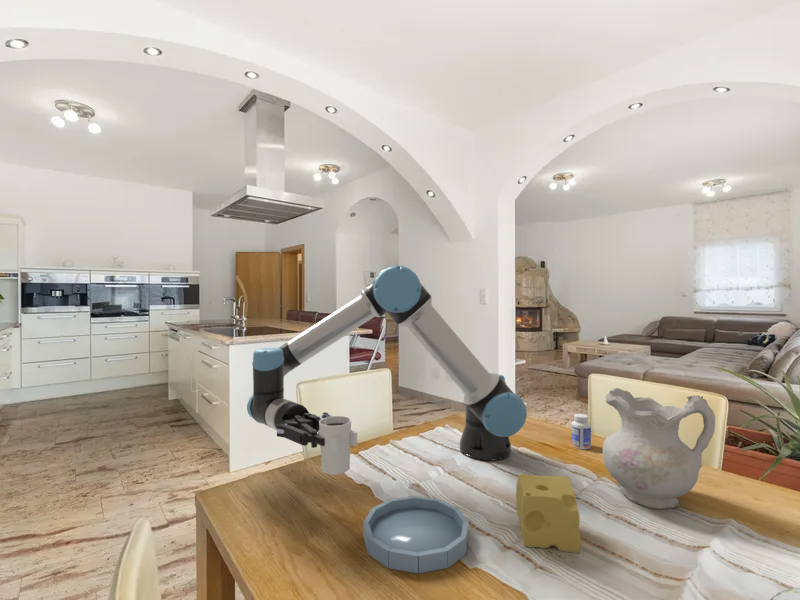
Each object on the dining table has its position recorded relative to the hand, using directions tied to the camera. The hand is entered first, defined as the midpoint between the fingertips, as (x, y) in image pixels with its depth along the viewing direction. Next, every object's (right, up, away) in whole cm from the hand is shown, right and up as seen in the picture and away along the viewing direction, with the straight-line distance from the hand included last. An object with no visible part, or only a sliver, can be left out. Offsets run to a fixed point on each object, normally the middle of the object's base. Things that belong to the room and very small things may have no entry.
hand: (347, 442), depth 82 cm
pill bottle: (+67, -17, +44) cm, 82 cm away
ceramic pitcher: (+70, -17, +13) cm, 73 cm away
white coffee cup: (-3, -7, +3) cm, 8 cm away
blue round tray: (+14, -18, -2) cm, 23 cm away
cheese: (+40, -18, -2) cm, 43 cm away
